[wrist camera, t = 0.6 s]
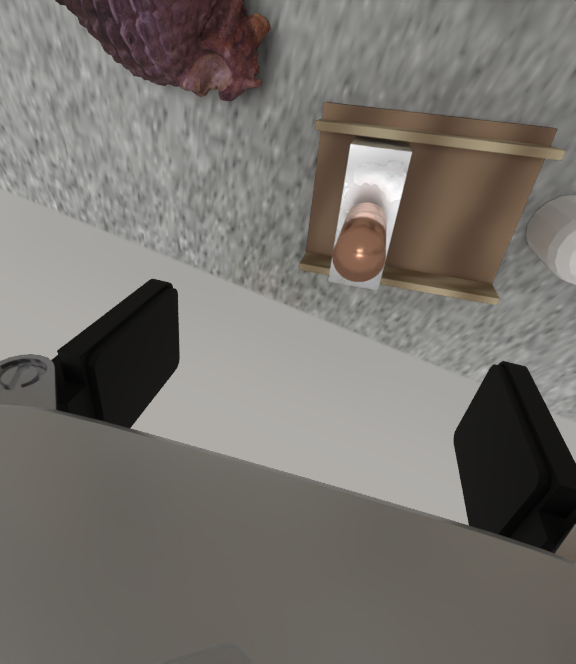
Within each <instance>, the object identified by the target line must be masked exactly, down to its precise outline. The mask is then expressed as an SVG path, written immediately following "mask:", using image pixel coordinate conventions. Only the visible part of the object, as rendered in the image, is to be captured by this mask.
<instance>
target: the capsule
mask: <svg viewBox="0 0 576 664" xmlns="http://www.w3.org/2000/svg"><path fill="white" fill-rule="evenodd" d="M526 238H527V242H528V245H529V247H530V248H531V249H532V250H533V251H534V253H535V254H536V255H537V256H538V257H539V258H540V259H541V260H542V261H543V262H544V264H545V265H546V266H547V267H548V268H549V269H550V270H551V271H552V272H553V273H554V274H555V275H556V276H557V277H558V278H559V279H562V280H564V281H566V282H569V283H572V284H575V285H576V195H568V196H561V197H558V198H556V199H554V200H551V201H549V202H547V203H546V204H545V205H543V206H542V207H541V208H540V209H539V210H537V211H536V212H535V214H534V215H533V217H532V218H531V220H530V222H529V223H528V226H527V232H526Z"/></svg>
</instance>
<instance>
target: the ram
mask: <svg viewBox="0 0 576 664" xmlns="http://www.w3.org/2000/svg"><path fill="white" fill-rule="evenodd" d="M411 155H412V150H411V147H410V145H409V143H408V142H400V141H392V140H384V139H376V138H368V137H360V136H357V137H356V138H355V140H354V141H353V142H352V143H351V145H350V151H349V157H348V163H347V169H346V175H345V182H344V188H343V194H342V200H341V206H340V212H339V218H338V224H337V231H336V237H335V243H334V249H333V255H332V261H331V267H330V273H329V280H328V282H334V283H339V284H345V285H350V286H356V287H361V288H367V289H372V290H378V289H379V285H380V281H381V277H382V273H383V269H384V265H385V260H386V256H387V252H388V248H389V244H390V240H391V236H392V232H393V228H394V224H395V220H396V216H397V212H398V208H399V204H400V199H401V195H402V191H403V187H404V183H405V179H406V175H407V171H408V167H409V163H410V159H411Z"/></svg>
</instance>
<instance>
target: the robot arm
mask: <svg viewBox="0 0 576 664" xmlns="http://www.w3.org/2000/svg"><path fill="white" fill-rule="evenodd" d="M57 352H58V355H57V356H56V357H55V358H53V359H52V360H50V359H49V358H47V357H44V356H41V355H33V354H28V355H19V356H15V357H10V358H7V359H5V360H2V361H0V664H576V463H575V461H574V460H573V457H572V455H571V453H570V451H569V449H568V447H567V445H566V444H565V442H564V439H563V438H562V436H561V434H560V432H559V430H558V428H557V426H556V424H555V422H554V420H553V418H552V416H551V414H550V412H549V410H548V408H547V406H546V404H545V402H544V400H543V398H542V396H541V394H540V392H539V390H538V388H537V386H536V384H535V382H534V380H533V378H532V376H531V374H530V372H529V370H528V369H527V367H525V366H522V365H518V364H513V363H509V362H505V361H503V362H501V363H499V365H495V364H494V365H492V366H491V368H490V369H489V371H488V373H487V374H486V376H485V378H484V380H483V382H482V384H481V385H480V387H479V389H478V391H477V393H476V395H475V396H474V398H473V400H472V402H471V404H470V405H469V407H468V409H467V411H466V412H465V414H464V416H463V418H462V420H461V421H460V423H459V425H458V427H457V429H456V431H455V434H454V447H455V452H456V458H457V463H458V468H459V474H460V479H461V485H462V490H463V495H464V501H465V506H466V512H467V517H468V523H469V526H468V525H465V524H462V523H458V522H455V521H452V520H449V519H445V518H442V517H439V516H435V515H432V514H428V513H425V512H422V511H418V510H415V509H411V508H407V507H404V506H401V505H397V504H393V503H391V502H387V501H383V500H380V499H377V498H373V497H370V496H366V495H363V494H360V493H356V492H353V491H349V490H346V489H343V488H339V487H335V486H332V485H328V484H325V483H321V482H318V481H315V480H311V479H308V478H304V477H301V476H297V475H294V474H290V473H287V472H283V471H279V470H276V469H273V468H269V467H266V466H262V465H259V464H255V463H252V462H248V461H245V460H241V459H238V458H234V457H231V456H227V455H223V454H220V453H216V452H213V451H209V450H206V449H202V448H198V447H195V446H191V445H188V444H184V443H180V442H177V441H173V440H170V439H166V438H162V437H159V436H155V435H152V434H148V433H144V432H141V431H137V430H134V429H130V428H131V427H132V425H133V424H134V423H135V421H136V420H137V419H138V418H139V416H140V415H141V414H142V412H143V411H144V410H145V408H146V407H147V406H148V405H149V403H150V402H151V401H152V400H153V398H154V397H155V396H156V395H157V393H158V392H159V391H160V389H161V388H162V387H163V386H164V384H165V383H166V382H167V380H168V379H169V378H170V377H171V375H172V374H173V373H174V371H175V370H176V369H177V367H178V364H179V323H178V292H177V290H176V289H174V288H173V286H172V284H171V283H169V282H165V281H160V280H156V279H151V280H149V281H148V282H146V283H145V284H144V285H143V286H141V287H140V288H138V289H137V290H136V291H135V292H133V293H132V294H131V295H129V296H128V297H127V298H126V299H124V300H123V301H122V302H120V303H119V304H118V305H116V306H115V307H114V308H112V309H111V310H110V311H109V312H107V313H106V314H105V315H104V316H102V317H101V318H99V319H98V320H97V321H96V322H94V323H93V324H92V325H90V326H89V327H88V328H86V329H85V330H84V331H82V332H81V333H80V334H78V335H77V336H76V337H74V338H73V339H72V340H71V341H69V342H68V343H67V344H65V345H64V346H63V347H61V348H60V349H59V350H58V351H57Z"/></svg>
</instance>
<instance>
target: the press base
mask: <svg viewBox="0 0 576 664" xmlns="http://www.w3.org/2000/svg"><path fill="white" fill-rule="evenodd" d="M315 130H320V131H321V134H320V142H319V150H318V158H317V166H316V175H315V183H314V191H313V199H312V207H311V215H310V224H309V232H308V240H307V248H306V253H305V255H304V257H303V258H302V260H301V262H300V265H299V270H303V271H309V272H315V273H320V274H326V275H329V273H330V267H331V261H332V255H333V249H334V243H335V237H336V231H337V224H338V218H339V212H340V206H341V200H342V194H343V188H344V182H345V175H346V169H347V163H348V157H349V151H350V145H351V143H352V142H353V141H354V140H355V138H356V137H357V136H360V137H368V138H376V139H384V140H392V141H400V142H408V143H409V145H410V147H411V150H412V155H411V159H410V163H409V167H408V171H407V175H406V179H405V183H404V187H403V191H402V195H401V199H400V204H399V208H398V212H397V216H396V220H395V224H394V228H393V232H392V236H391V240H390V244H389V248H388V252H387V256H386V260H385V265H384V269H383V273H382V277H381V281H380V284H381V285H387V286H393V287H398V288H404V289H409V290H415V291H420V292H426V293H432V294H437V295H443V296H448V297H454V298H460V299H465V300H471V301H476V302H482V303H487V304H493V305H497V304H498V302H499V300H500V298H499V296H498V295H497V293H496V291H495V289H494V287H493V285H492V283H493V280H494V278H495V276H496V273H497V271H498V268H499V266H500V264H501V261H502V259H503V257H504V254H505V252H506V250H507V247H508V245H509V243H510V240H511V238H512V235H513V233H514V231H515V228H516V226H517V224H518V221H519V219H520V217H521V214H522V212H523V210H524V207H525V205H526V202H527V200H528V198H529V195H530V193H531V191H532V188H533V186H534V184H535V181H536V179H537V177H538V174H539V172H540V169H541V167H542V165H543V162H544V160H545V159H553V160H561V161H562V159H563V157H564V154H565V152H566V151H565V150H562V149H559V148H556V147H552V146H551V144H552V141H553V139H554V136H555V134H556V132H557V129H555V128H550V127H541V126H532V125H523V124H515V123H506V122H497V121H488V120H479V119H470V118H462V117H453V116H444V115H435V114H426V113H417V112H409V111H400V110H391V109H382V108H373V107H365V106H356V105H347V104H338V103H329V102H324V109H323V117H322V119H320V120H316V126H315Z"/></svg>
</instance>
